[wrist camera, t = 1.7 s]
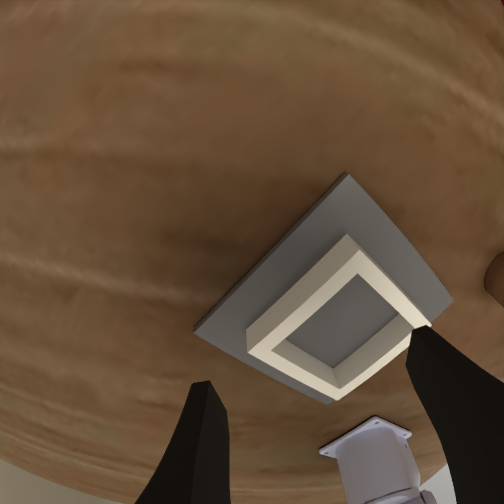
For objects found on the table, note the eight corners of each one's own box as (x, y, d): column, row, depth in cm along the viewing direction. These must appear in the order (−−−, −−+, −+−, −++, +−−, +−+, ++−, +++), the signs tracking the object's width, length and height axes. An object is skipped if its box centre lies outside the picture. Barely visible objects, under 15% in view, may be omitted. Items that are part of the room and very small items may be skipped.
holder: (450, 296, 22) (468, 316, 19) (325, 400, 26) (332, 424, 23) (345, 171, 17) (363, 184, 15) (194, 327, 21) (190, 355, 19)
